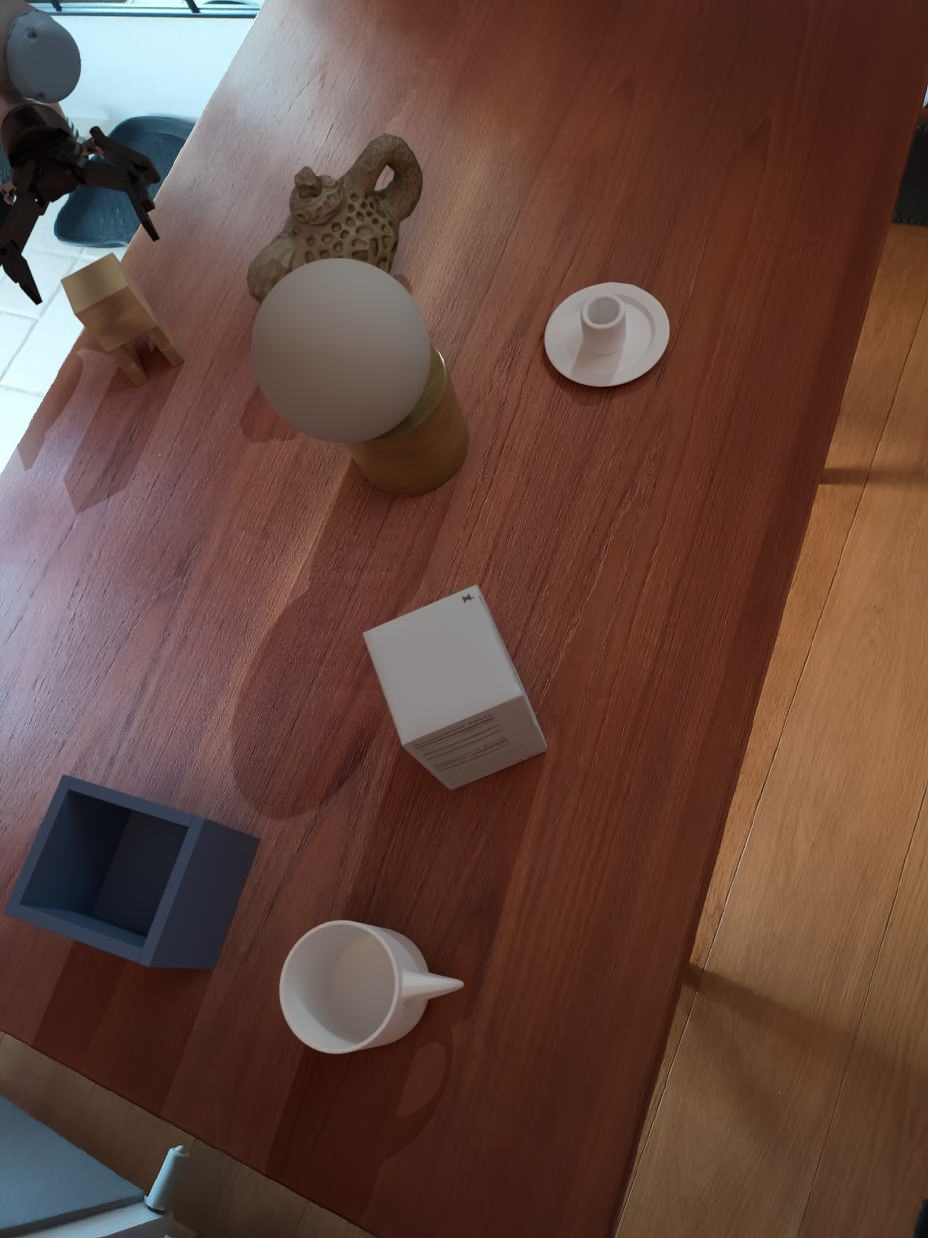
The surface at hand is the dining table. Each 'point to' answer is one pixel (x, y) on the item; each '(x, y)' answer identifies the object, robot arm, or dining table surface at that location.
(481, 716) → the supplement box
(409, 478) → the lamp
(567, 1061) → the dining table surface
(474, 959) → the dining table surface
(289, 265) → the teapot
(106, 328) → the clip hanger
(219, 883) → the blue bin
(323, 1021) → the mug
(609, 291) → the candle holder
